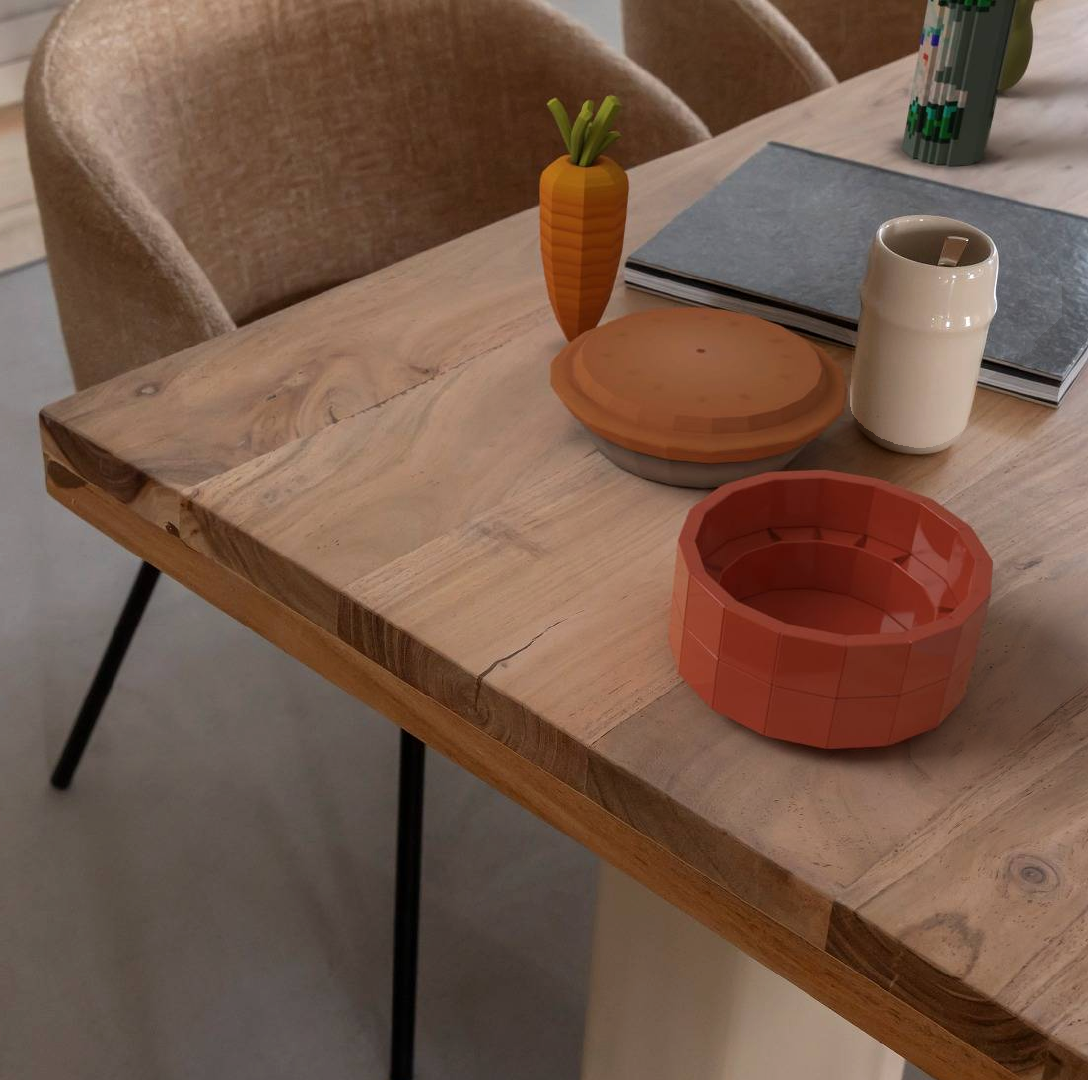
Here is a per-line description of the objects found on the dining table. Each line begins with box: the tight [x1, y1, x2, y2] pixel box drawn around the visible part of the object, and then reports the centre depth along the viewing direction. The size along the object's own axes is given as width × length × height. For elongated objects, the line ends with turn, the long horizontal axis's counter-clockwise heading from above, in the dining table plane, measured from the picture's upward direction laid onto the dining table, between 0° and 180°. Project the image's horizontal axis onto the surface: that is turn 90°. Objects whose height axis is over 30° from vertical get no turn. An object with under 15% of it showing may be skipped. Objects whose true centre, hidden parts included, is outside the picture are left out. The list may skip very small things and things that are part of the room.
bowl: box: [667, 469, 994, 750], centre depth 60 cm, size 12×12×6 cm
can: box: [901, 0, 1018, 167], centre depth 110 cm, size 6×6×15 cm
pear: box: [998, 0, 1035, 93], centre depth 124 cm, size 6×5×10 cm
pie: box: [549, 306, 848, 489], centre depth 76 cm, size 16×16×5 cm
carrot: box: [539, 94, 630, 344], centre depth 82 cm, size 5×5×15 cm
